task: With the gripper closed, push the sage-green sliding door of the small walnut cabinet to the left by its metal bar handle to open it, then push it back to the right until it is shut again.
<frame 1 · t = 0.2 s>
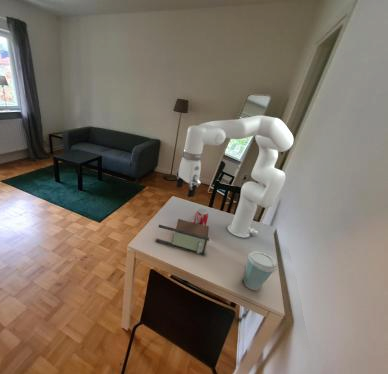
hand: (184, 191, 98), 31 cm above the table, tool pointing down, fingers open, 9 cm apart
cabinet: (188, 242, 114), on the table
soda can: (198, 228, 126), on the table
disposable coffee cup: (251, 284, 92), on the table
sliding door: (188, 243, 105), point 5 cm above the table, slide at 0.5 cm
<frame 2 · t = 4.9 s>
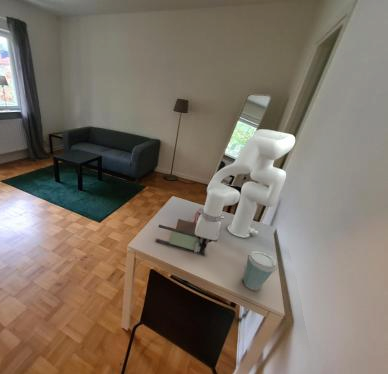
hand: (202, 248, 102), 6 cm above the table, tool pointing down, fingers closed
sliding door: (185, 242, 105), point 5 cm above the table, slide at 1.8 cm, touching gripper
everything else where it was.
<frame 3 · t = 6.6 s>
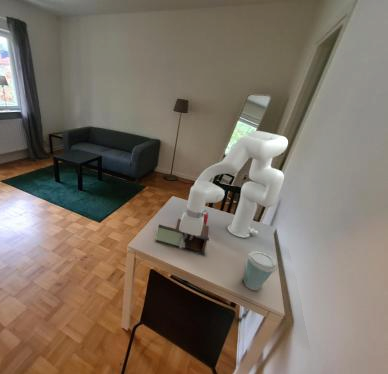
hand: (186, 243, 104), 6 cm above the table, tool pointing down, fingers closed
sliding door: (170, 238, 107), point 5 cm above the table, slide at 9.1 cm, touching gripper
everything else where it was.
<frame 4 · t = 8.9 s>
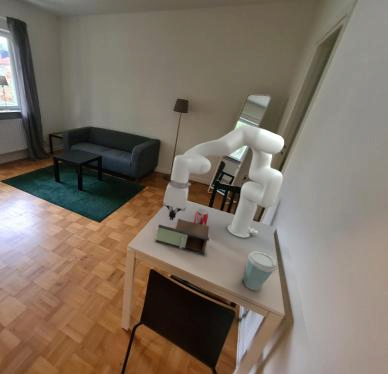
hand: (171, 218, 101), 18 cm above the table, tool pointing down, fingers closed
sliding door: (171, 238, 107), point 5 cm above the table, slide at 9.0 cm
everything else where it was.
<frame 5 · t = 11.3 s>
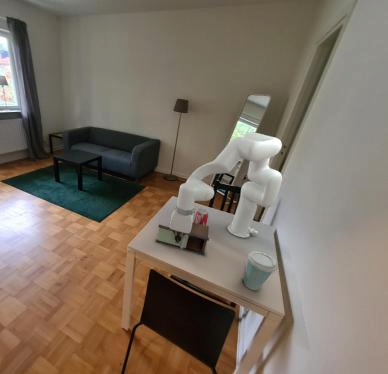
hand: (177, 241, 105), 6 cm above the table, tool pointing down, fingers closed
sliding door: (171, 238, 107), point 5 cm above the table, slide at 8.6 cm, touching gripper
everything else where it was.
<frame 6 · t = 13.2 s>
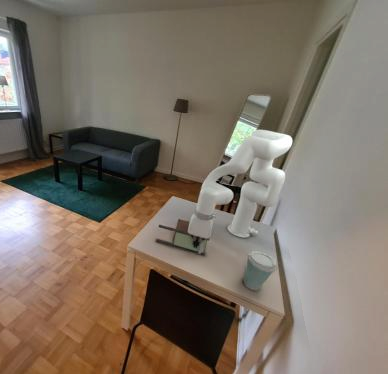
hand: (195, 246, 103), 6 cm above the table, tool pointing down, fingers closed
sliding door: (189, 243, 105), point 5 cm above the table, slide at -0.1 cm, touching gripper
everything else where it was.
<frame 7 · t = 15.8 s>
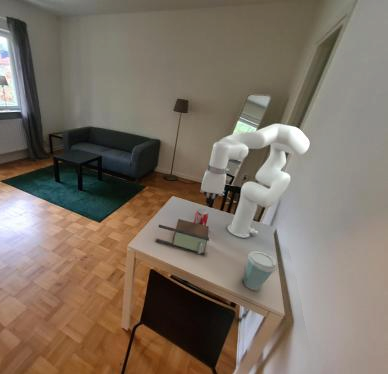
hand: (208, 204, 105), 24 cm above the table, tool pointing down, fingers closed
sliding door: (189, 243, 105), point 5 cm above the table, slide at 0.0 cm
everything else where it was.
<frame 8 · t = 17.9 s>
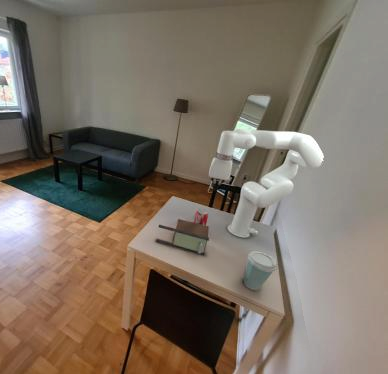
hand: (214, 190, 112), 27 cm above the table, tool pointing down, fingers closed
nothing on the table moved.
at the end: sliding door pulled out 9.1 cm at the most during the clip and back in by the end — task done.
